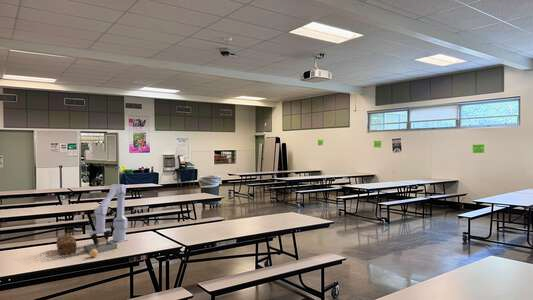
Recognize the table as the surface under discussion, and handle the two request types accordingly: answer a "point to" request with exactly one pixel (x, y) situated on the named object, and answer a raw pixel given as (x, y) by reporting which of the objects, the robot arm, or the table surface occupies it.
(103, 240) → the carton
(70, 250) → the bread
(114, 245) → the bin
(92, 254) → the egg
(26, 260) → the table surface
